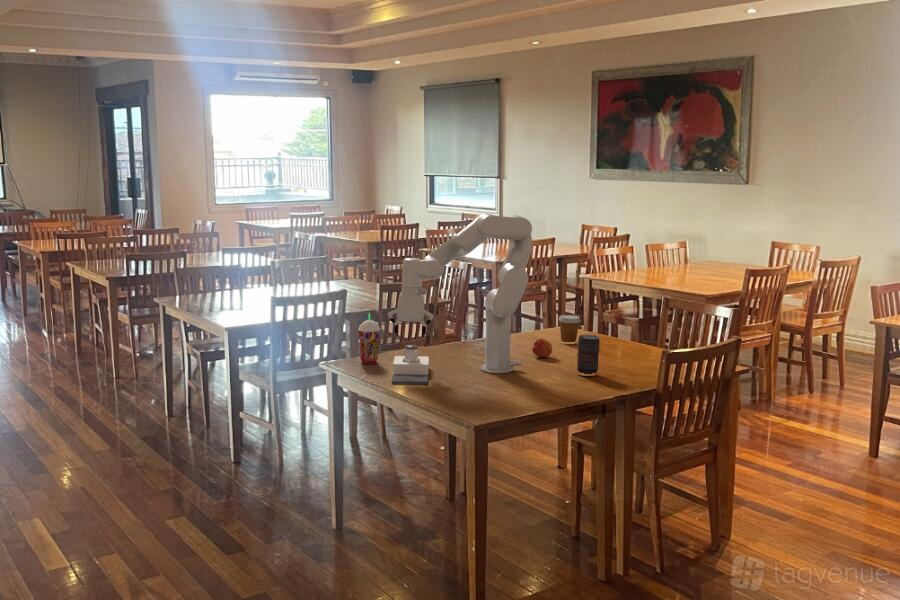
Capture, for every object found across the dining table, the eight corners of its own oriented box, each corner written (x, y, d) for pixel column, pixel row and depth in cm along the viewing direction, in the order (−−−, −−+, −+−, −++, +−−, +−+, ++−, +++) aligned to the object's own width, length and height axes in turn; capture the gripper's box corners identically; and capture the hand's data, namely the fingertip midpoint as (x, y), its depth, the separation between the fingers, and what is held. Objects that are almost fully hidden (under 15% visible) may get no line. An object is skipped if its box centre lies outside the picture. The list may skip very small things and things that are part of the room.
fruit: (532, 354, 365) (533, 336, 364) (552, 355, 364) (553, 337, 363) (531, 359, 357) (532, 340, 356) (551, 360, 356) (552, 341, 355)
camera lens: (580, 378, 329) (581, 339, 326) (573, 372, 337) (575, 334, 334) (600, 377, 330) (602, 338, 327) (594, 372, 338) (595, 334, 335)
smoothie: (376, 366, 341) (376, 315, 338) (355, 364, 343) (355, 314, 339) (382, 361, 349) (382, 311, 346) (362, 359, 351) (362, 310, 347)
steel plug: (417, 370, 336) (418, 344, 334) (417, 373, 331) (417, 347, 329) (404, 370, 336) (405, 344, 334) (404, 373, 331) (404, 347, 329)
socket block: (428, 367, 340) (428, 356, 339) (428, 376, 327) (428, 364, 326) (394, 367, 340) (395, 356, 339) (393, 375, 327) (393, 364, 326)
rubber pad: (428, 377, 325) (428, 374, 325) (427, 384, 316) (427, 381, 315) (393, 376, 325) (393, 374, 325) (391, 383, 315) (391, 381, 315)
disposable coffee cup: (573, 346, 382) (574, 319, 380) (554, 343, 387) (555, 317, 385) (582, 342, 390) (584, 316, 388) (563, 340, 395) (564, 313, 393)
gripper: (434, 290, 332) (432, 334, 335) (389, 288, 332) (387, 332, 334) (434, 293, 324) (432, 338, 327) (387, 291, 324) (386, 336, 327)
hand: (409, 335), depth 331 cm, fingers open, 9 cm apart
